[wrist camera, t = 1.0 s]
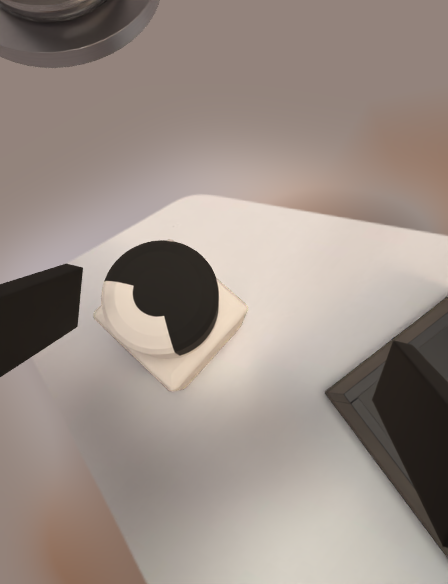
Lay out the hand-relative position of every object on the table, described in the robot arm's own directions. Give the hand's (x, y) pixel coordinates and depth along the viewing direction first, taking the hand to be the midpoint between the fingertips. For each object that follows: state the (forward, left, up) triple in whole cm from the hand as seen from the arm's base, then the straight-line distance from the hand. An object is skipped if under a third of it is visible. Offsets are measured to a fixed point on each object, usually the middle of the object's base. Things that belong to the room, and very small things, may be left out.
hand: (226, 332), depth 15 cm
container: (-2, -4, -17) cm, 18 cm away
